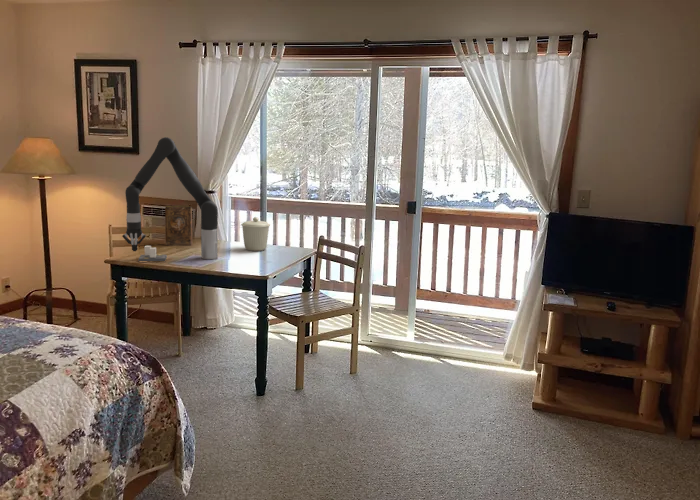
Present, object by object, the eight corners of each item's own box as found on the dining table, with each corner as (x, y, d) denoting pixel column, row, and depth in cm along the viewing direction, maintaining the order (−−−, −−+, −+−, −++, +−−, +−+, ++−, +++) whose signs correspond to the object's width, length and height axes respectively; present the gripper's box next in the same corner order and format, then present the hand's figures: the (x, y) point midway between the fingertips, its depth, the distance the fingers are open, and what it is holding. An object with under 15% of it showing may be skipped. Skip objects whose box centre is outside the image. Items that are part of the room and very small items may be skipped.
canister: (235, 248, 359) (235, 216, 354) (259, 246, 370) (260, 214, 366) (250, 253, 345) (251, 219, 341) (275, 250, 357) (275, 218, 353)
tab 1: (151, 254, 321) (150, 245, 320) (150, 255, 317) (150, 246, 316) (145, 254, 320) (145, 245, 319) (144, 255, 317) (144, 246, 316)
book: (192, 243, 367) (191, 206, 362) (192, 245, 362) (191, 207, 357) (166, 244, 363) (165, 205, 358) (165, 245, 358) (164, 207, 353)
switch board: (166, 257, 324) (166, 254, 323) (165, 261, 314) (164, 258, 313) (141, 258, 321) (141, 254, 320) (138, 262, 311) (138, 258, 310)
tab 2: (156, 256, 316) (156, 247, 315) (155, 257, 313) (155, 248, 312) (150, 256, 316) (150, 247, 315) (150, 257, 312) (149, 248, 311)
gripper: (147, 220, 318) (147, 249, 322) (122, 219, 315) (123, 249, 319) (145, 222, 311) (146, 252, 314) (120, 221, 308) (121, 252, 312)
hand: (134, 251), depth 317 cm, fingers closed
